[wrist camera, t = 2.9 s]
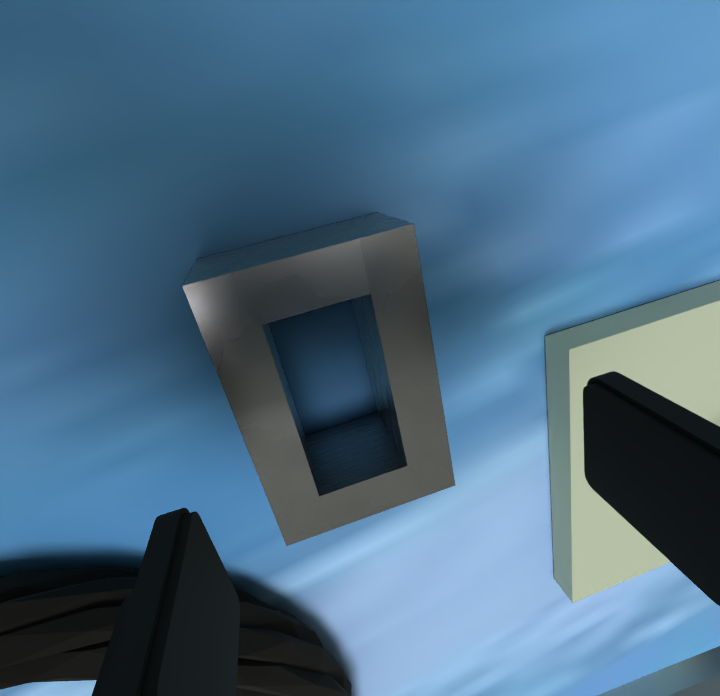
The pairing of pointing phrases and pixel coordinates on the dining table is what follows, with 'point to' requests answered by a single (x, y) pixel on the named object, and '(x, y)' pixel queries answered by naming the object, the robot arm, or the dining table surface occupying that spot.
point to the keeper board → (566, 435)
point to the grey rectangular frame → (383, 358)
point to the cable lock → (97, 621)
